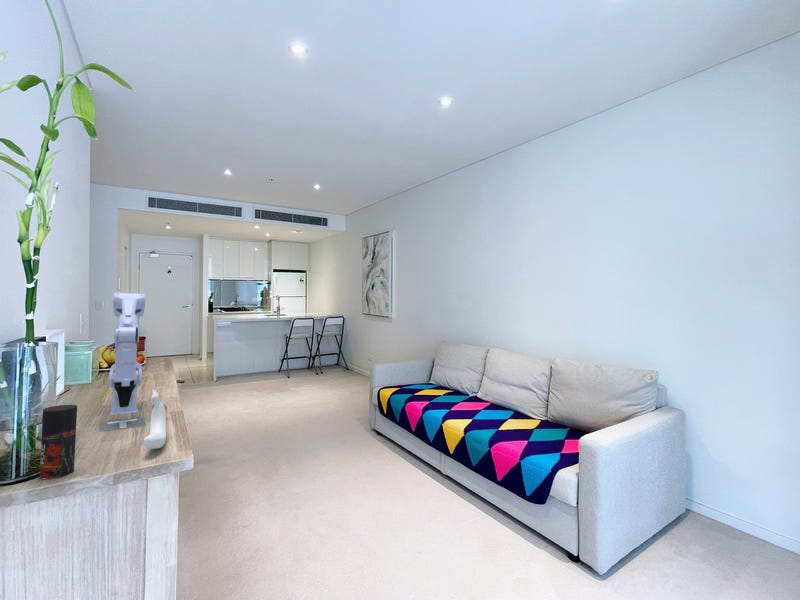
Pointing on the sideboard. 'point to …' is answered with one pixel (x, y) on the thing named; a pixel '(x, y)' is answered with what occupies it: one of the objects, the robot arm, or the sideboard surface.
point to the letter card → (122, 424)
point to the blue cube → (121, 409)
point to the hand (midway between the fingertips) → (123, 405)
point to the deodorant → (58, 441)
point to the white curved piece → (156, 425)
